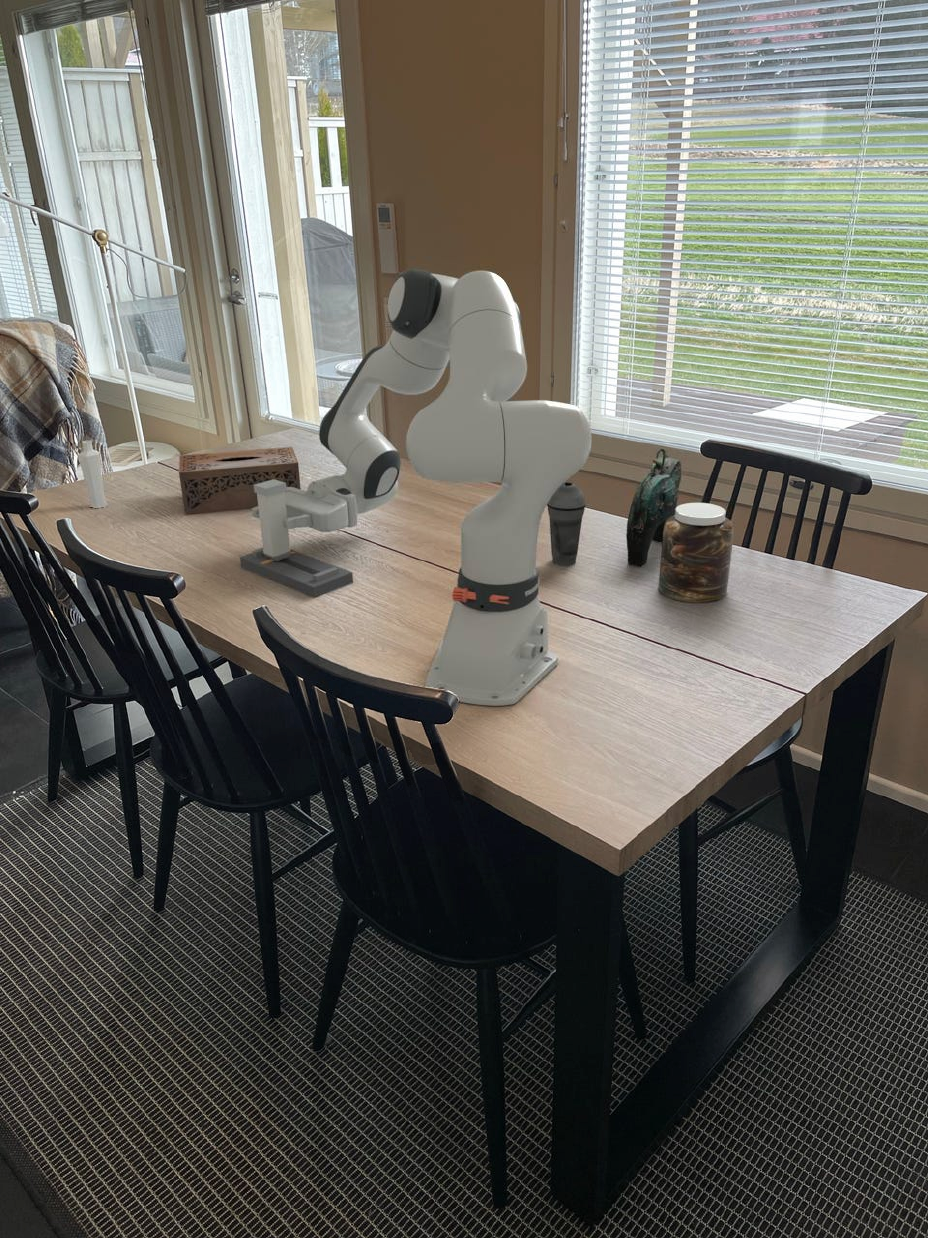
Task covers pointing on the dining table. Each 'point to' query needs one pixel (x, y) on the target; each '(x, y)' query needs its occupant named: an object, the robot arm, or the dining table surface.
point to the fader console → (298, 572)
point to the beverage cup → (565, 523)
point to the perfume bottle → (92, 475)
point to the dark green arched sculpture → (652, 507)
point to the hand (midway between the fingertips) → (269, 518)
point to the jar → (696, 553)
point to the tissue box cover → (233, 478)
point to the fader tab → (273, 519)
